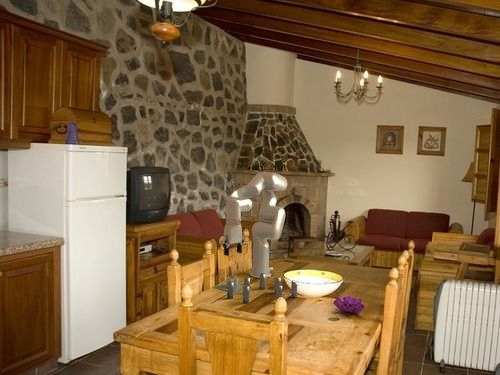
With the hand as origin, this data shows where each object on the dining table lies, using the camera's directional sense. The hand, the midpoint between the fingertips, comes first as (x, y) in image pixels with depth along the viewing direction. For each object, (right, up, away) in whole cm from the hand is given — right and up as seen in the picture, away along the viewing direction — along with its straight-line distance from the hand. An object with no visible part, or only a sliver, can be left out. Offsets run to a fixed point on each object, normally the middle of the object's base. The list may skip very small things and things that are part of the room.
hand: (232, 254), depth 246 cm
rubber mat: (0, -18, +1) cm, 18 cm away
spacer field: (+15, -19, -16) cm, 29 cm away
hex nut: (0, -18, +1) cm, 18 cm away
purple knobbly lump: (+54, -22, -34) cm, 67 cm away
